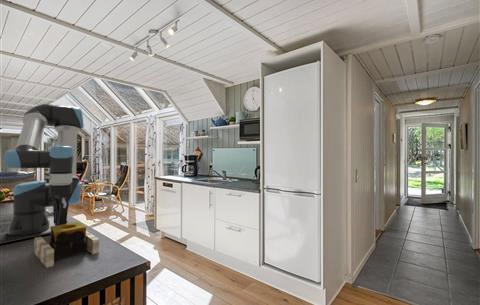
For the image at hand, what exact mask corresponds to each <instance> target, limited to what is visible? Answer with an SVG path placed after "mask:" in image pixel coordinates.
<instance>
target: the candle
mask: <svg viewBox="0 0 480 305" xmlns="http://www.w3.org/2000/svg"><path fill="white" fill-rule="evenodd" d="M49 229H50V234H49V236H50V237H49V243H48V244H49V245H50V246H51V247H52V248H53V249H54V261H57V260H61V259H64V258H68V257H73V256H76V255H82V254H85V253H86V249H85V248H86V231H87V226H86V225H84V223H82V222H81V221H77V222H76V221H75V222H71V223H70V222H69V223H66V224H63V225H57V226H55V225H50V227H49Z"/></svg>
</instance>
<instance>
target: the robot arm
mask: <svg viewBox="0 0 480 305" xmlns="http://www.w3.org/2000/svg"><path fill="white" fill-rule="evenodd" d="M22 123H23V126H22V128H21V130H20V134H19V137H18V140H17V143H16V145H15V148H14V149H8V150H7V149H6V151H5V152H4V158H3V160H4V166H5V168H8V169H19V170H20V169H49V176H47V179H48V180H49V181H48V182H47V181H46V180H45V179H44V180H35V181H34V180H33V181H27V182H21V183H18V184H16V185H15V186H14V188H13V194H12V196H13V205H12V207H13V210H12V211H13V212H12V213H13V214H12V218H11V220H10V223H9V225H8V228H7V234H8V235H9V236H25V235H33V234H37V233H40V232H44V231H46V230H48V229H50V227H51V225H50V224H51V223H50V221H49V218H48V215H47V212H46V208H49V207H51V208H52V214H53V224H54V226H57V225H63V224H67V220H68V211H69V206H72V205H77V204H79V203H80V201H81V195H82V190H83V188H82V187H83V182H82V181H80V177H78V176H77V155H78V152H77V151H78V150H77V149H78V134H79V133H81V129H84V117H83V111H82V109H81V108H80V107H78V106H72V105H61V104H60V105H59V104H51V103H42V104H38V105H35V106H33V107H31V108H30V109H28V110H27V111H26V112H25V113H24V114H23V117H22ZM46 127H54V128H53V129H54V131H55V132H57V142H56V143H57V144H56V145H52V146H50V148H49V150H44V149H43V150H42V149H40V147H41V142H42V138H43V132H44V129H45V128H46Z"/></svg>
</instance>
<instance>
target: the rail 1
mask: <svg viewBox="0 0 480 305" xmlns="http://www.w3.org/2000/svg"><path fill="white" fill-rule="evenodd" d="M49 244H50V243H48V242H47V241H46V240H45V239H44V238H43V237H42V236H38V237H34V243H33V246H34V248H33V253H34V254H35V255H36V257H37V258H38V260H40V262H41V263H42V265H43V266H44V267H45V269H49V268H52V267H54V265H55V260H54V249H53V248H52V247H51V246H50V245H49Z"/></svg>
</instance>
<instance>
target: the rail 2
mask: <svg viewBox="0 0 480 305" xmlns="http://www.w3.org/2000/svg"><path fill="white" fill-rule="evenodd" d="M85 250H87V252H89V254H91V255H93V256H94V255H97V254H99V252H100V239H99V238H98V237H97V236H95V235H94V234H92V233H90V232H89V231H87V230H86V248H85Z"/></svg>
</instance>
